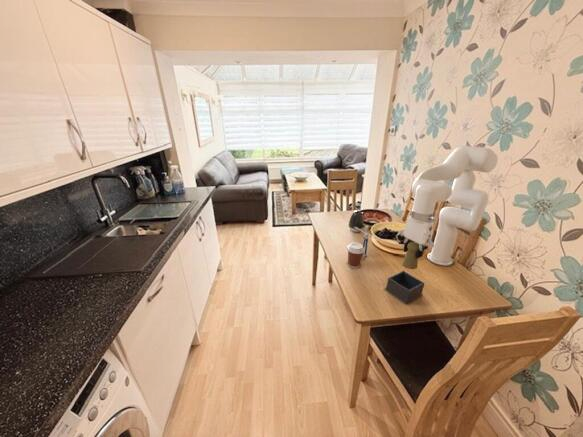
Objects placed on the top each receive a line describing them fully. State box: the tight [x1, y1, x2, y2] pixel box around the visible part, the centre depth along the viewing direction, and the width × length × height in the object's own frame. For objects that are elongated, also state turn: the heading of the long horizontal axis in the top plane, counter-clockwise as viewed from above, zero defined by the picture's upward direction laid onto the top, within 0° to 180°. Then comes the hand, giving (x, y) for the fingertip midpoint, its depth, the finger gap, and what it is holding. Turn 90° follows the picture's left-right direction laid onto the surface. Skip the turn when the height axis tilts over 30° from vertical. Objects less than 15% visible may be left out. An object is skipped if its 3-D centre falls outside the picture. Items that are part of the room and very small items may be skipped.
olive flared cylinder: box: [401, 241, 419, 270], centre depth 103 cm, size 6×6×11 cm
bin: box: [385, 270, 425, 305], centre depth 110 cm, size 11×11×7 cm
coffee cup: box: [346, 242, 365, 269], centre depth 129 cm, size 9×9×12 cm
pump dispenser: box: [348, 210, 366, 233], centre depth 167 cm, size 10×10×15 cm
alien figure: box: [355, 225, 380, 259], centre depth 136 cm, size 20×5×19 cm, turn 30°
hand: (412, 253), depth 103 cm, fingers closed on olive flared cylinder, 5 cm apart
